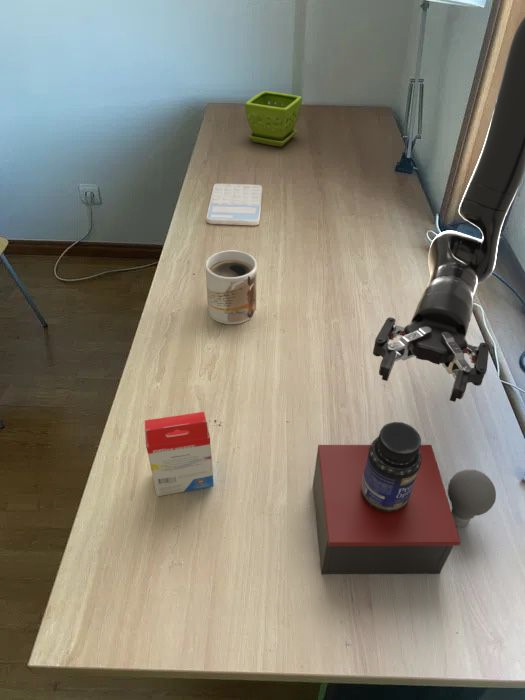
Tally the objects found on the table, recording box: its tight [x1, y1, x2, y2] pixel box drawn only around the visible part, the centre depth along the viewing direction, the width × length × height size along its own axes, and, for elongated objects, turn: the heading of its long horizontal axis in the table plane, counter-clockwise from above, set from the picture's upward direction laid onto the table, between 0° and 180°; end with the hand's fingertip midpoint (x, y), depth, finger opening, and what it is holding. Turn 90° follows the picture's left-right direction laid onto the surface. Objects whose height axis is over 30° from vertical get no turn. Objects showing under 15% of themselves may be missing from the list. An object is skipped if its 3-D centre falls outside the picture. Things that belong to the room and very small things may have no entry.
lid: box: [317, 444, 461, 547], centre depth 72 cm, size 14×16×1 cm
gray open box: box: [312, 450, 454, 575], centre depth 75 cm, size 14×16×9 cm
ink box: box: [144, 411, 215, 497], centre depth 79 cm, size 8×5×15 cm, turn 102°
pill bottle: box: [361, 421, 422, 513], centre depth 68 cm, size 6×6×11 cm
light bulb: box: [447, 468, 497, 528], centre depth 76 cm, size 6×6×10 cm
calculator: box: [205, 183, 263, 226], centre depth 146 cm, size 13×20×2 cm, turn 178°
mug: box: [204, 249, 258, 325], centre depth 111 cm, size 10×12×11 cm
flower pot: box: [244, 90, 303, 148], centre depth 177 cm, size 14×14×13 cm
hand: (419, 386), depth 70 cm, fingers open, 8 cm apart
